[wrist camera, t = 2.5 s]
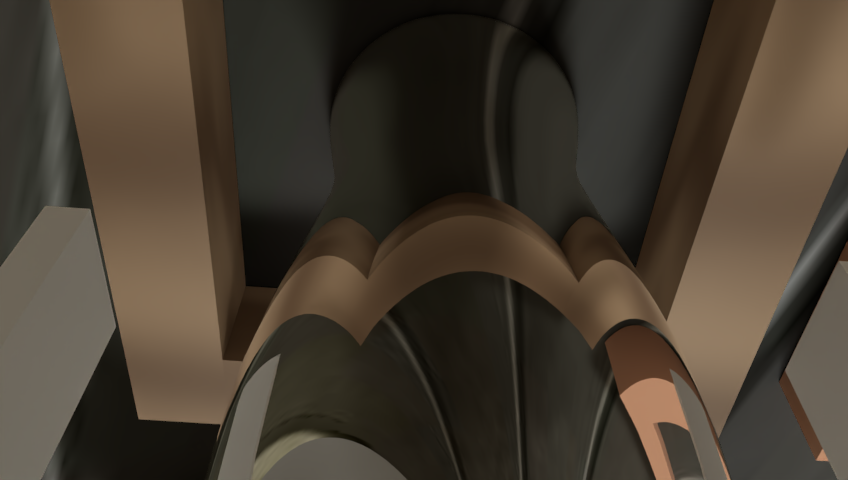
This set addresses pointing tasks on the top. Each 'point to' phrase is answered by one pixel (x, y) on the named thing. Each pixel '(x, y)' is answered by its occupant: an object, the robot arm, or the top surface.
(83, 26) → the walnut holder
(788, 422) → the top surface
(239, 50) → the top surface
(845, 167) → the top surface
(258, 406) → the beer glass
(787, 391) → the terracotta holder
